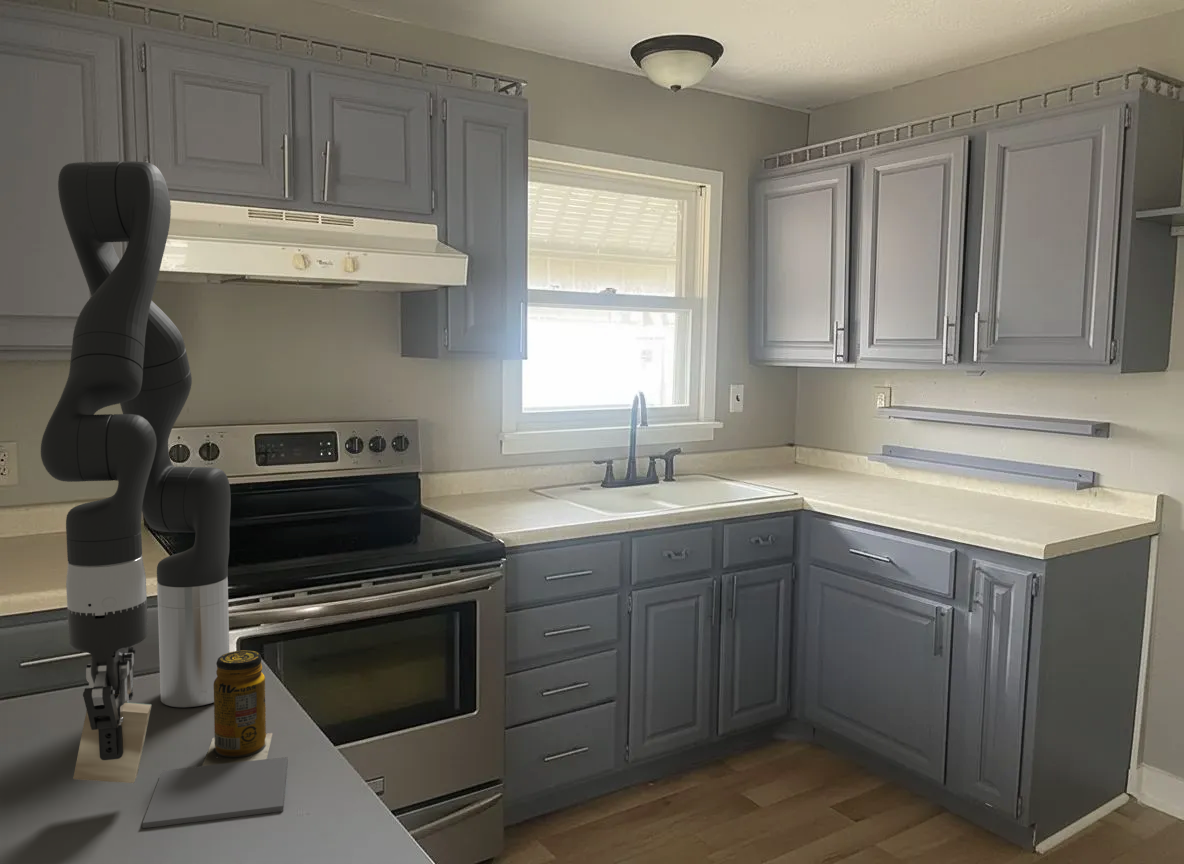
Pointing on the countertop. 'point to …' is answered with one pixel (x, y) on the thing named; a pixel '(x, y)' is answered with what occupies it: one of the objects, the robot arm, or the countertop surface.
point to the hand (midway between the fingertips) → (114, 751)
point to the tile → (133, 742)
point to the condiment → (239, 710)
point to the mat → (218, 792)
